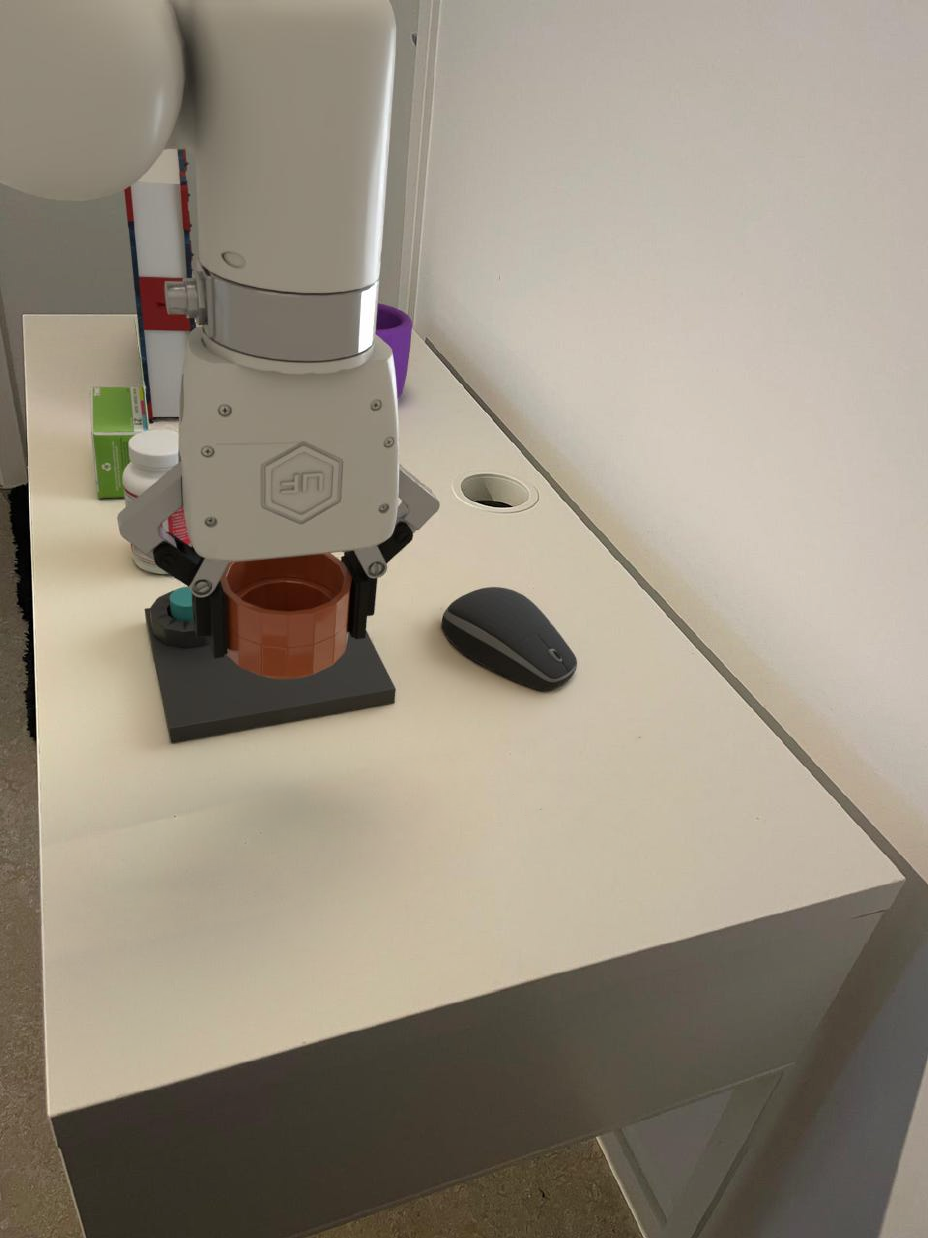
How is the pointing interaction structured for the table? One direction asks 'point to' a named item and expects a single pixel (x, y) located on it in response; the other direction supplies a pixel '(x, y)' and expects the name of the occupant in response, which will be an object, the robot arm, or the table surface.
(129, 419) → the ink box
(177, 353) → the book
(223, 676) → the scale
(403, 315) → the mug
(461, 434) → the table surface
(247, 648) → the bowl
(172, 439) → the pill bottle
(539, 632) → the computer mouse
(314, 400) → the robot arm
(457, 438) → the table surface
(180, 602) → the button
